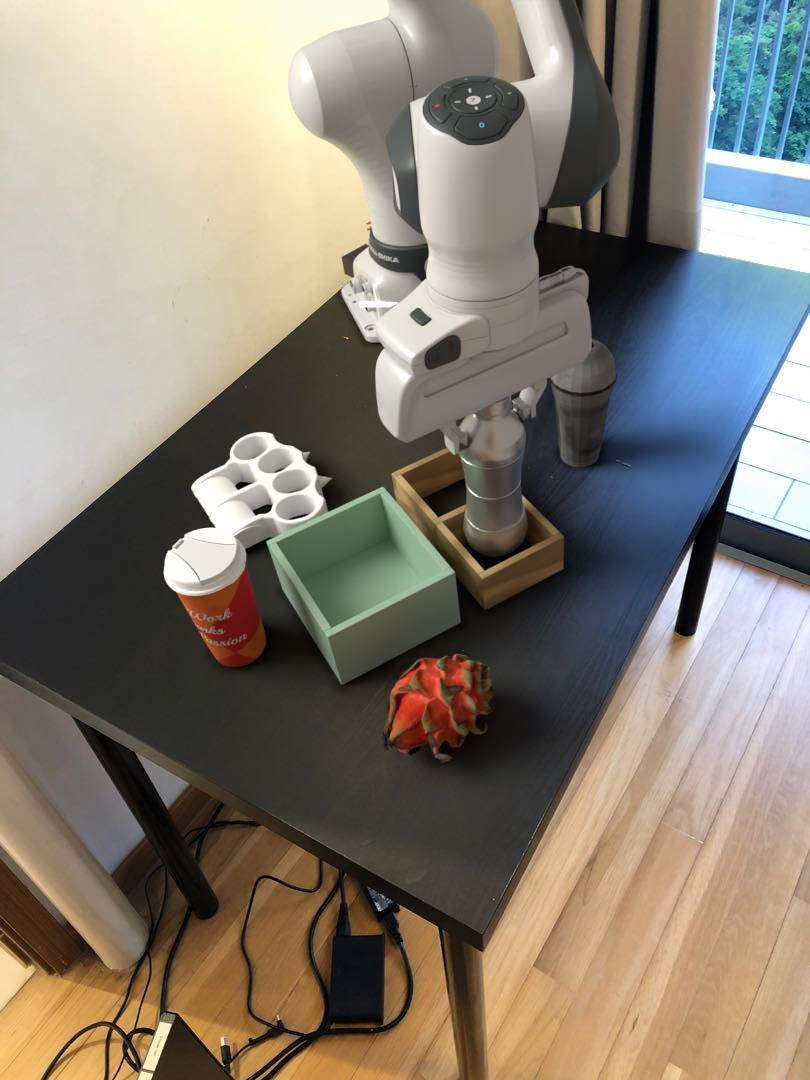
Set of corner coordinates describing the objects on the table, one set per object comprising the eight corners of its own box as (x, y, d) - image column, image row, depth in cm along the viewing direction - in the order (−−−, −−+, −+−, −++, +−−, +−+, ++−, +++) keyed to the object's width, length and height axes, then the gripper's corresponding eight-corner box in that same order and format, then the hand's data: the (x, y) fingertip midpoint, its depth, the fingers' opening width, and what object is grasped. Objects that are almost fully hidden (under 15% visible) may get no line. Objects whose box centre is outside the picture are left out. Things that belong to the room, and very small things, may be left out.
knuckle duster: (186, 485, 108) (292, 437, 112) (243, 574, 96) (358, 517, 100) (178, 465, 105) (286, 416, 109) (235, 554, 94) (354, 496, 98)
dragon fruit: (504, 702, 83) (404, 781, 81) (451, 629, 84) (350, 706, 81) (529, 704, 75) (418, 793, 72) (470, 624, 75) (358, 709, 73)
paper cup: (187, 657, 89) (142, 567, 79) (236, 605, 93) (198, 513, 83) (244, 688, 86) (204, 598, 76) (292, 633, 90) (260, 540, 80)
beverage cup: (610, 477, 100) (621, 327, 86) (545, 474, 102) (546, 327, 87) (612, 435, 105) (623, 287, 90) (550, 433, 106) (552, 287, 92)
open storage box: (282, 589, 94) (265, 540, 89) (392, 536, 98) (383, 486, 92) (342, 685, 85) (327, 637, 79) (461, 622, 88) (455, 572, 83)
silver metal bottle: (540, 546, 91) (543, 394, 76) (486, 575, 89) (478, 425, 74) (504, 510, 95) (500, 359, 80) (452, 537, 93) (438, 387, 78)
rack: (396, 505, 101) (391, 473, 97) (468, 470, 104) (465, 438, 100) (484, 610, 89) (482, 579, 85) (563, 569, 92) (564, 536, 88)
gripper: (565, 243, 75) (562, 373, 86) (356, 330, 70) (379, 457, 80) (612, 274, 71) (602, 406, 82) (394, 368, 66) (413, 497, 76)
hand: (490, 432), depth 81 cm, fingers closed on silver metal bottle, 6 cm apart
